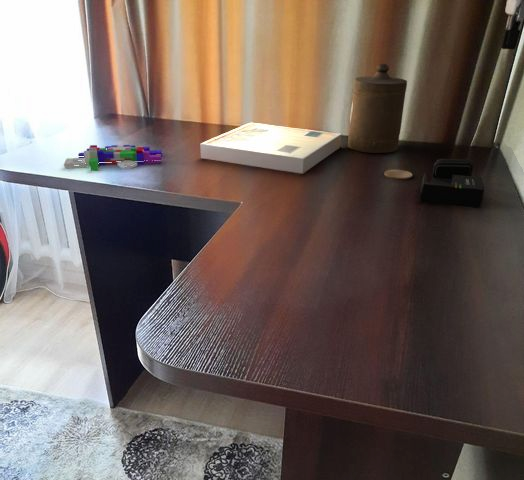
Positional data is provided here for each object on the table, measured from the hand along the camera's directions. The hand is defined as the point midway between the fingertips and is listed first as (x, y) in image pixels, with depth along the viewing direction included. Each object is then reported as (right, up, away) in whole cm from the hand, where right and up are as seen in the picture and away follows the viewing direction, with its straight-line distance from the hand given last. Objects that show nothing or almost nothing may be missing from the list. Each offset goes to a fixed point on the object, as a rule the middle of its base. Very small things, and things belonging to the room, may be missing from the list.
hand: (507, 48), depth 127 cm
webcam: (-15, -34, -1) cm, 38 cm away
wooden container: (-28, -15, +26) cm, 41 cm away
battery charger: (-19, -41, -10) cm, 46 cm away
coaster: (-27, -31, +3) cm, 41 cm away
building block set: (-102, -23, +12) cm, 105 cm away
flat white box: (-58, -19, +20) cm, 64 cm away
